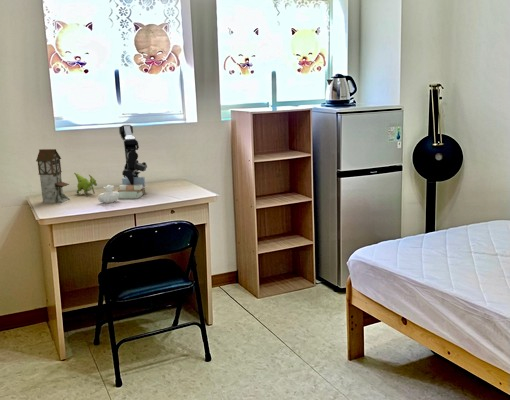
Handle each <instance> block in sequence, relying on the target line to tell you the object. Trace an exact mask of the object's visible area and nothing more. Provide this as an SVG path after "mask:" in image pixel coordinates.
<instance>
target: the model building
mask: <svg viewBox="0 0 510 400" xmlns="http://www.w3.org/2000/svg"><path fill="white" fill-rule="evenodd" d="M61 159H62V158H61V156H60V154H59V153H58V151H57V149H56V148H54V149H53V148H47V149H45V148H43V149H41V148H40V149H38V154H37V157H36V160H35V162H37V169H38V175H39V178H40V179H39V181H40V189H41V197H42V203H48V204H49V203H50V204H51V203H52V204H55V203H64V202H66V201H70V199H71V198H70V197H68V196H67V195H66V194H65V193H64V190H63V187H68V186H69V185H70V183H67V182H64V181H62V172H63V171H62V166H61V165H62V164H61Z"/></svg>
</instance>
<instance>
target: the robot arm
mask: <svg viewBox="0 0 510 400" xmlns="http://www.w3.org/2000/svg"><path fill="white" fill-rule="evenodd" d="M118 133H119V135H120V138H121V139H122V141H123V147H124V154H125V165H124V168H123V171H122V172H121V173H122V176H123V178H128V180H129V182H130V183H131V185H134V177H139V174H140V173H141V172H145V171H146V170H147V168H148V165H147V162H144V161H143V162H142V163H141V162H139V160H138V158H139V154H138V152H137V151H138V150H139V149H140V147H139V141H138V139H136V137H135V136H134V135H133V134H134V128H133V126H132V125H131V124H122V125H121V126H119V127H118Z"/></svg>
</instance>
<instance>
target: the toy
mask: <svg viewBox="0 0 510 400" xmlns="http://www.w3.org/2000/svg"><path fill="white" fill-rule="evenodd" d="M73 175H75V177H76V180H77V184H76V185H77V189H76V194H77V195H80V192H81V191H82V190H83V193H84V195H85V196H87V194H88V193H89V192H90V191H91V190H92V192H93V194H96V193H95V190H94V186H95V187H97V185H98V183H97V180H96V179H95V178H94V177H93V176H92V175H91V174H88V176H89V177H90V180H89V179H87V178H86V177H84V176H81V175H80V174H78V173H76V172H74V173H73Z"/></svg>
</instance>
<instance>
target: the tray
mask: <svg viewBox="0 0 510 400" xmlns="http://www.w3.org/2000/svg"><path fill="white" fill-rule="evenodd" d="M118 193H119V198H118V200H124V199H125V200H130V199H131V200H135V199H136V200H137V199H139V198H141V197H143V194H142V191H141V192H140V193H138V194H137V192H118Z"/></svg>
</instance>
